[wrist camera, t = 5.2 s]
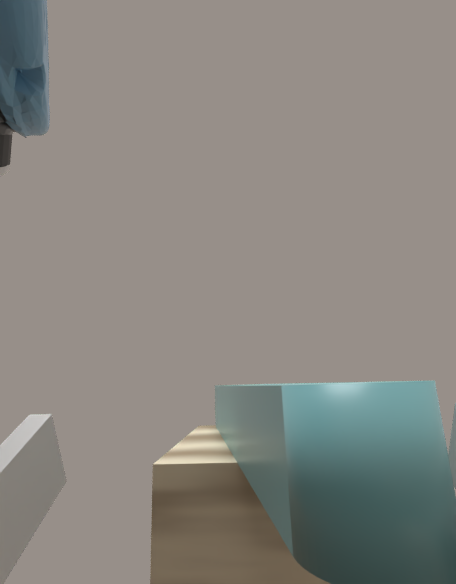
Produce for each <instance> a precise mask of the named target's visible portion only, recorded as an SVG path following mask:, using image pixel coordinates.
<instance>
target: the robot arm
mask: <svg viewBox="0 0 456 584" xmlns="http://www.w3.org/2000/svg"><path fill="white" fill-rule="evenodd" d="M49 118H50V115H49V62H48V22H47V0H0V177H1V176H2V175H4V174H5V173H7V172H8V171H9V169H10V155H11V143H12V133H13V132H17V133H19V134H20V135H22V136H24V137H25V138H26V136H30V135H44V134H45V133H46V132H47V131H48V129H49V120H50V119H49ZM448 457H449V463H450V469H451V474H452V480H453V485H454V487H455V489H456V404H455V408H454V416H453V424H452V432H451V439H450V447H449V454H448ZM65 483H66V477H65V472H64V468H63V463H62V459H61V454H60V449H59V445H58V440H57V436H56V431H55V427H54V422H53V418H52V414H36V415H29V416H28V417H27V418H26V419H25V420H24V421H23V422H22V423H21V424H20V425H19V426H18V427H17V428H16V429H15V430H14V432H12V433H11V435H9V436H8V438H7V439H6V440H5V441H4V442H3V443H2V444H1V445H0V584H4V582H5V580H6V579H7V577H8V576H9V574H10V572H11V571H12V569H13V567H14V566H15V564H16V563H17V561H18V559H19V558H20V556H21V554H22V553H23V551H24V550H25V548H26V546H27V545H28V543H29V541H30V540H31V538H32V536H33V535H34V533H35V532H36V530H37V528H38V527H39V525H40V524H41V522H42V520H43V519H44V517H45V515H46V514H47V512H48V511H49V509H50V507H51V506H52V504H53V502H54V501H55V499H56V497H57V496H58V494H59V492H60V491H61V489H62V488H63V486H64V485H65Z"/></svg>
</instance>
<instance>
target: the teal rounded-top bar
mask: <svg viewBox="0 0 456 584" xmlns="http://www.w3.org/2000/svg"><path fill="white" fill-rule="evenodd" d="M215 415H216V428H217V429H218V431H219V433H220V434H221V436H222V438H223V439H224V441H225V443H226V445H227V446H228V448H229V450H230V451H231V453H232V455H233V456H234V458H235V460H236V461H237V463H238V465H239V466H240V468H241V470H242V471H243V473H244V475H245V477H246V478H247V480H248V482H249V483H250V485H251V487H252V488H253V490H254V492H255V493H256V495H257V497H258V498H259V500H260V502H261V503H262V505H263V507H264V509H265V510H266V512H267V514H268V515H269V517H270V519H271V520H272V522H273V524H274V525H275V527H276V529H277V530H278V532H279V534H280V535H281V537H282V539H283V541H284V542H285V544H286V546H287V547H288V549H289V551H290V552H291V554H292V556H293V557H294V559H295V560H296V561H297V563H299V564H300V565H301V566H302V567H303V568H304V569H305V570H307V571H308V572H309V573H311V574H313V575H314V576H316V577H318V578H320V579H322V580H324V581H326V582H328V583H331V584H456V497H455V491H454V485H453V480H452V474H451V469H450V463H449V457H448V453H447V447H446V441H445V436H444V430H443V424H442V418H441V413H440V407H439V402H438V396H437V390H436V385H435V381H394V382H393V381H391V382H346V383H345V382H344V383H295V384H254V385H252V384H251V385H221V386H215Z"/></svg>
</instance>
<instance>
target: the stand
mask: <svg viewBox="0 0 456 584" xmlns="http://www.w3.org/2000/svg"><path fill="white" fill-rule="evenodd" d="M151 532H152V533H151V577H150V578H151V579H150V584H331V583H328V582H326V581H324V580H322V579H320V578H318V577H316V576H314V575H313V574H311V573H309V572H308V571H307V570H305V569H304V568H303V567H302V566H301V565H300V564H299V563H297V561H296V560H295V559H294V557H293V556H292V554H291V552H290V551H289V549H288V547H287V546H286V544H285V542H284V541H283V539H282V537H281V535H280V534H279V532H278V530H277V529H276V527H275V525H274V524H273V522H272V520H271V519H270V517H269V515H268V514H267V512H266V510H265V509H264V507H263V505H262V503H261V502H260V500H259V498H258V497H257V495H256V493H255V492H254V490H253V488H252V487H251V485H250V483H249V482H248V480H247V478H246V477H245V475H244V473H243V471H242V470H241V468H240V466H239V465H238V463H237V461H236V460H235V458H234V456H233V455H232V453H231V451H230V450H229V448H228V446H227V445H226V443H225V441H224V439H223V438H222V436H221V434H220V433H219V431H218V429H217V428H216V425H213V426H198V427H197V428H196V429H195V430H194V431H192V432H191V433H190V434H189V435H188V436H186V437H185V438H184V439H183V440H182V441H180V442H179V443H178V444H177V445H176V446H174V447H173V448H172V449H171V450H170V451H168V452H167V453H166V454H165V455H164V456H162V457H161V458H160V459H159V460H158V461H156V462H155V463H154V464H153V485H152V531H151Z"/></svg>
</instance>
